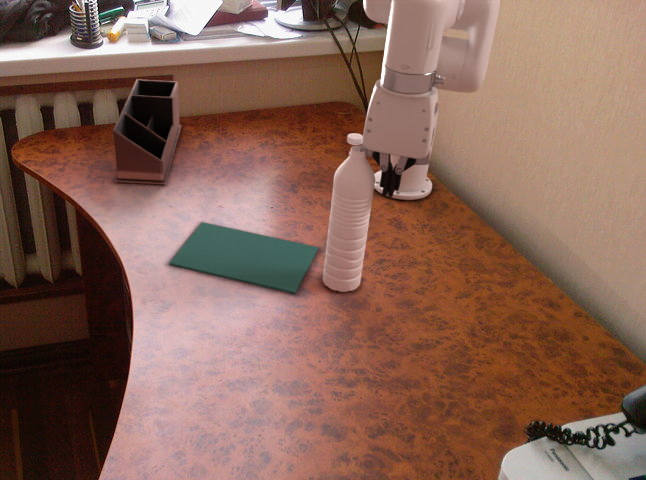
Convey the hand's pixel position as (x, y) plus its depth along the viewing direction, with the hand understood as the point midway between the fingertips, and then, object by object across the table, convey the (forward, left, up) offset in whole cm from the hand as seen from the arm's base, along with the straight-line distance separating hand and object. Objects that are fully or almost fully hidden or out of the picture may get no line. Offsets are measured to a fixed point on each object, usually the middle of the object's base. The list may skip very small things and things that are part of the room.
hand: (388, 192), depth 116 cm
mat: (0, -23, -18) cm, 30 cm away
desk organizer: (-31, -57, -18) cm, 67 cm away
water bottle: (0, -6, -18) cm, 19 cm away
